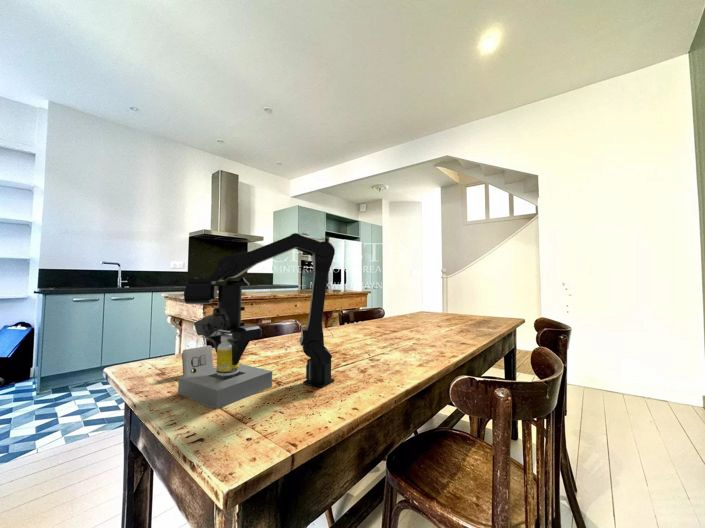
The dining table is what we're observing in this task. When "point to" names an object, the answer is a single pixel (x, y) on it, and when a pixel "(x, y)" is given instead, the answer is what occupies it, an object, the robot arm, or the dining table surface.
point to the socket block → (224, 385)
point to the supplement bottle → (225, 357)
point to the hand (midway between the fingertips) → (228, 363)
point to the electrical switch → (197, 360)
